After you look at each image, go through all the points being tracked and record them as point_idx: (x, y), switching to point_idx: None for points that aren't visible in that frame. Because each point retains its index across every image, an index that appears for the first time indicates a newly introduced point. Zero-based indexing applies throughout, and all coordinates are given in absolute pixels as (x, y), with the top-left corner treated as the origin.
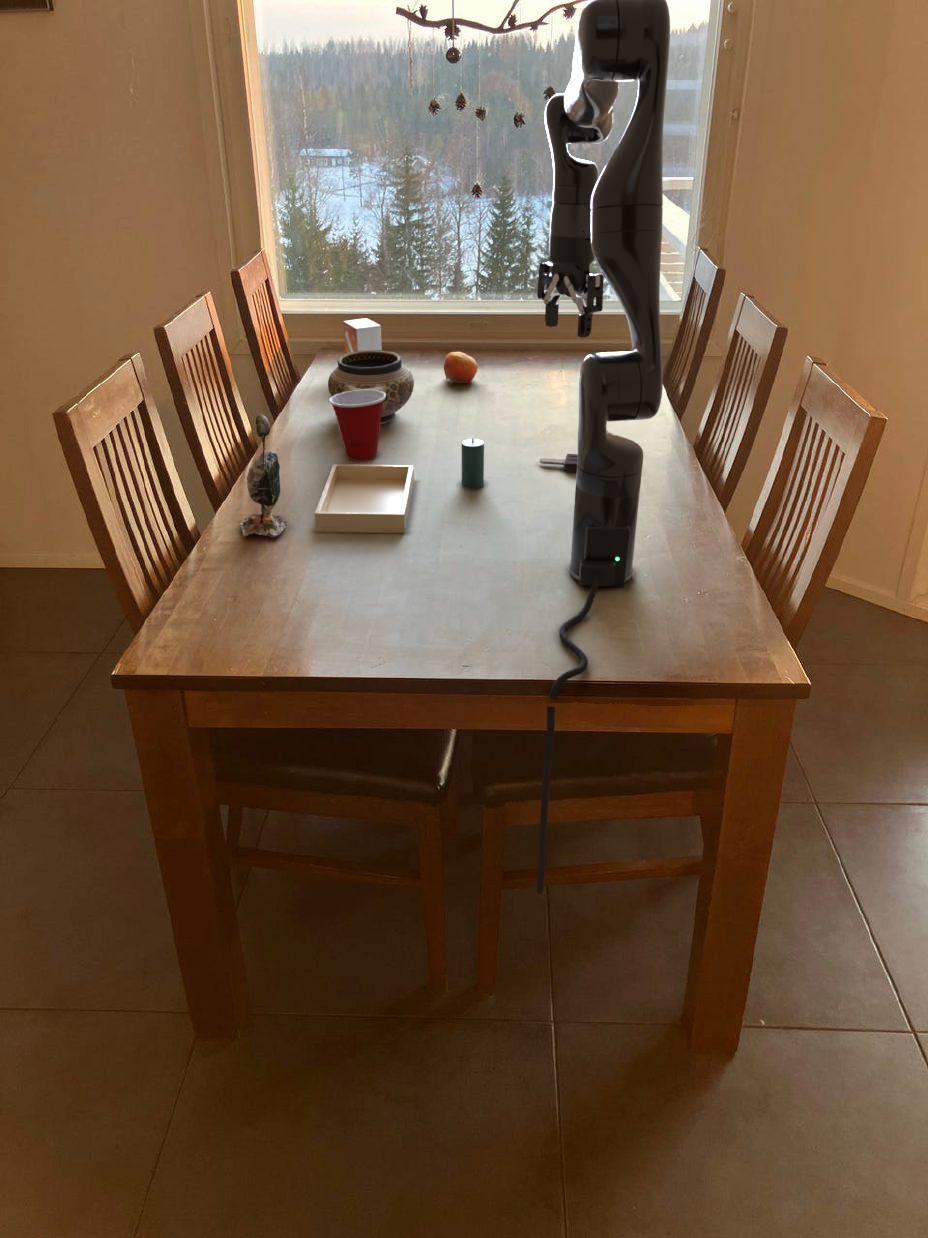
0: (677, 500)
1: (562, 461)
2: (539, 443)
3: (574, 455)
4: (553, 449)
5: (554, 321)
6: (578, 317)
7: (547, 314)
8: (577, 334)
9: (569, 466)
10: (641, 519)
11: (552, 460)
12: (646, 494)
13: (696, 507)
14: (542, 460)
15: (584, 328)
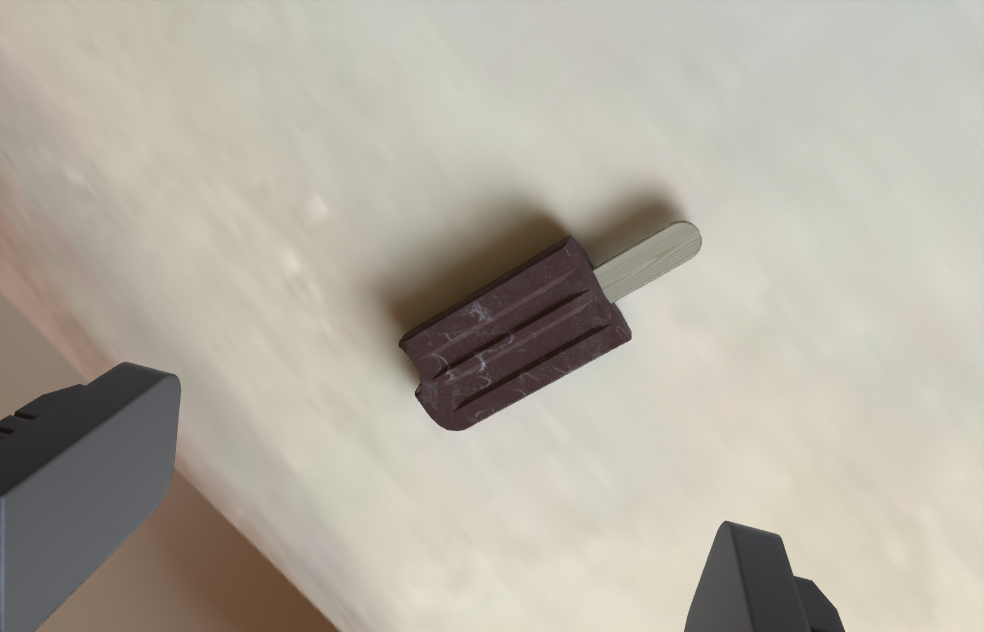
0: (112, 280)
1: (609, 278)
2: (848, 425)
3: (590, 341)
4: (756, 405)
5: (699, 628)
6: (33, 475)
7: (774, 616)
8: (168, 375)
9: (551, 250)
10: (79, 48)
11: (649, 259)
12: (212, 254)
13: (38, 271)
14: (684, 231)
15: (25, 412)
